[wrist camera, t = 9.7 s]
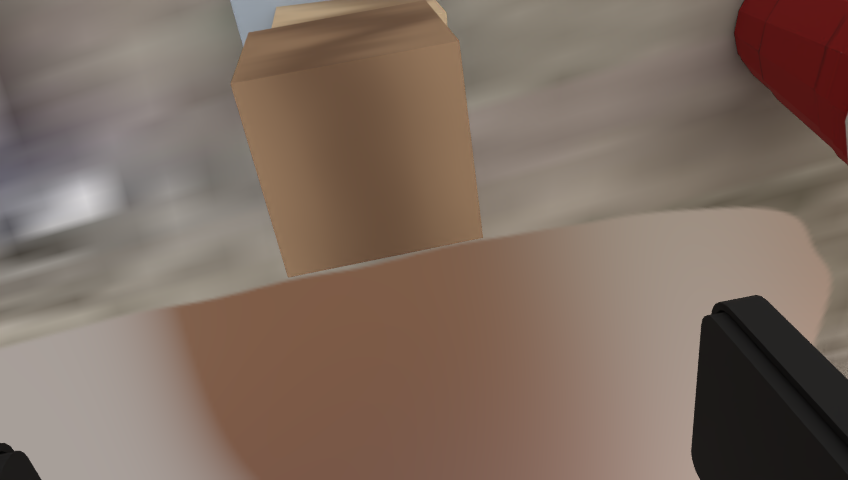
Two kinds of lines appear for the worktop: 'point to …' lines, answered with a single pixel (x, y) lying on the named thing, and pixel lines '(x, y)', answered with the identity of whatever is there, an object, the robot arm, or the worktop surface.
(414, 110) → the walnut cube
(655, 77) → the worktop surface
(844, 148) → the plastic cup
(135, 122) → the worktop surface
